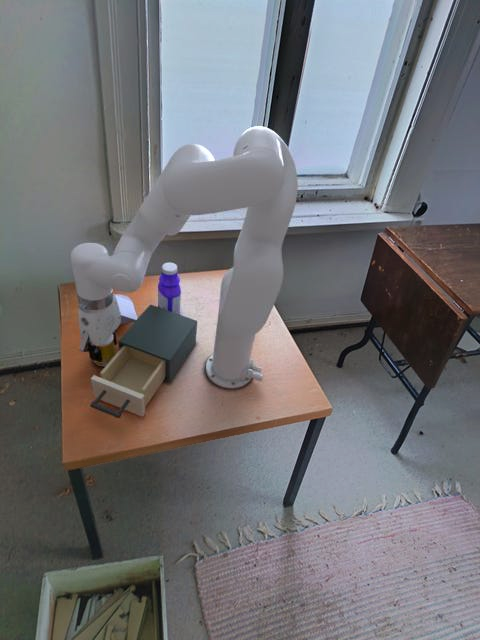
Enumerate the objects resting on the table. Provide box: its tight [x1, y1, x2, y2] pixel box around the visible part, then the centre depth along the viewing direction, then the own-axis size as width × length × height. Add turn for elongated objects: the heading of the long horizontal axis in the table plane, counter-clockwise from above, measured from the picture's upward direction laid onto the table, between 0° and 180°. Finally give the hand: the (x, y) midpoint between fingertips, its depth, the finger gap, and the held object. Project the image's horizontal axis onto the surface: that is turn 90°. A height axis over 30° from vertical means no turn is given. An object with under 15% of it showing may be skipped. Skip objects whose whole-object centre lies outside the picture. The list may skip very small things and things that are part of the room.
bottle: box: [157, 262, 182, 315], centre depth 114 cm, size 7×6×17 cm
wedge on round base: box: [114, 293, 139, 325], centre depth 114 cm, size 9×7×13 cm
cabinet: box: [117, 304, 198, 384], centre depth 106 cm, size 16×14×9 cm
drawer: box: [89, 345, 167, 419], centre depth 95 cm, size 19×13×7 cm, turn 160°
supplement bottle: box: [91, 334, 117, 367], centre depth 101 cm, size 6×6×10 cm
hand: (103, 350), depth 103 cm, fingers closed on supplement bottle, 5 cm apart
